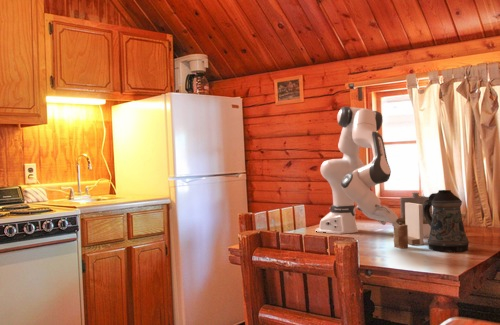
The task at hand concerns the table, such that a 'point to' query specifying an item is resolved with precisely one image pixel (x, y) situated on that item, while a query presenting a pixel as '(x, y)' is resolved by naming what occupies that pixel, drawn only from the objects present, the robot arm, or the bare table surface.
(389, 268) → the table surface
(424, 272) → the table surface
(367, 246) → the table surface
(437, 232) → the beer stein
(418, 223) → the wall board
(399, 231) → the cabinet block
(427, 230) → the wood carving
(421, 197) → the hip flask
